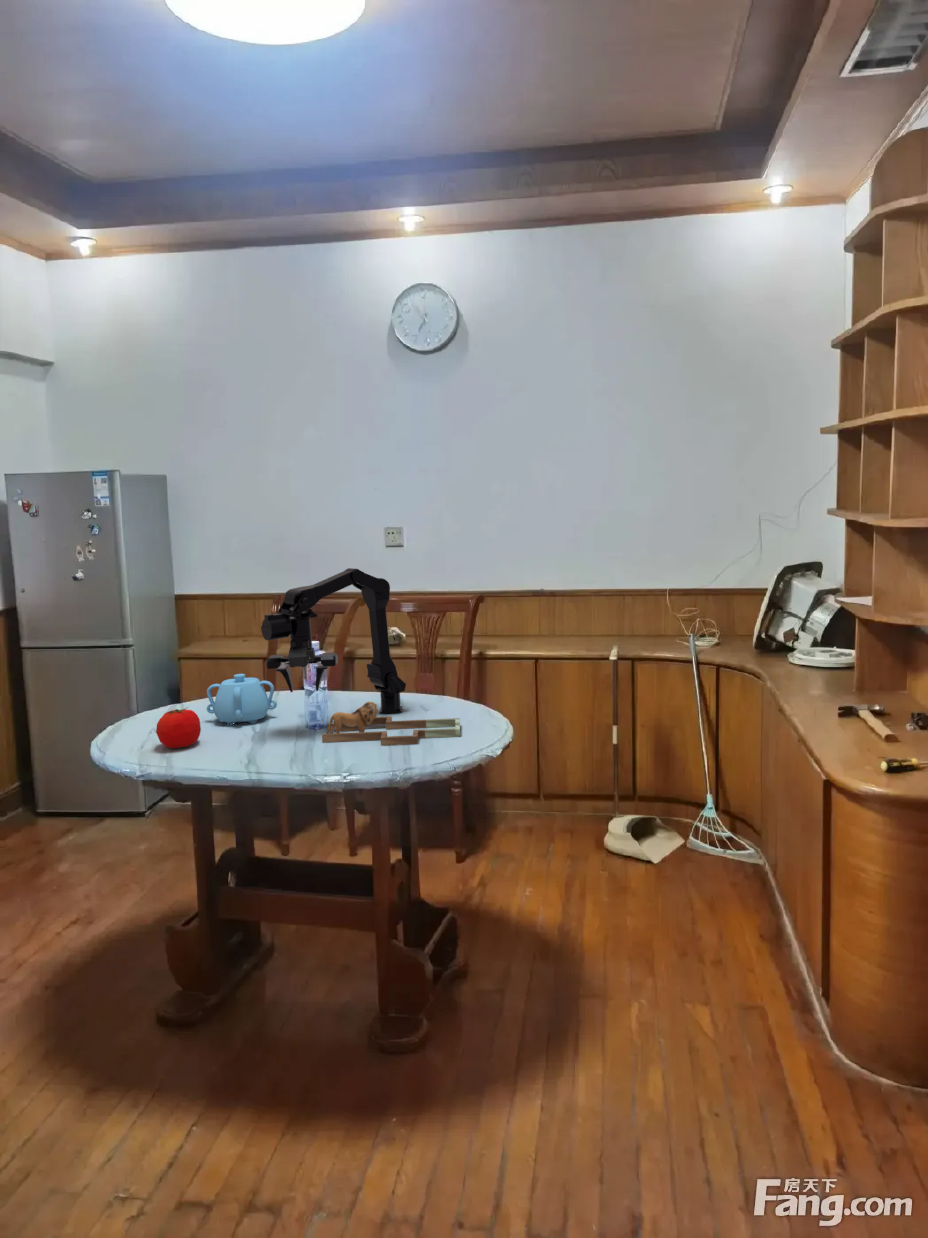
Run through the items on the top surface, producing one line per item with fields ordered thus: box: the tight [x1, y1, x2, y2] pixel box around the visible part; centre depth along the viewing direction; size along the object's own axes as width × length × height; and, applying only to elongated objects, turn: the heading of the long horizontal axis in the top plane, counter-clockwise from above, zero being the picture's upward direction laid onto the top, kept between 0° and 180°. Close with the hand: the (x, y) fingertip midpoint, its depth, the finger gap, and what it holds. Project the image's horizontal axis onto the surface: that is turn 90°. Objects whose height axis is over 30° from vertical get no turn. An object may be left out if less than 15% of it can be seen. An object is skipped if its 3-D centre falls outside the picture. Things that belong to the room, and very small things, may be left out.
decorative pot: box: [206, 673, 278, 725], centre depth 271 cm, size 16×16×14 cm
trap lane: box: [321, 716, 461, 747], centre depth 250 cm, size 22×36×2 cm, turn 91°
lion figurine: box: [325, 701, 378, 734], centre depth 249 cm, size 15×5×9 cm, turn 101°
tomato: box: [155, 706, 202, 749], centre depth 246 cm, size 11×13×10 cm
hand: (304, 691), depth 255 cm, fingers open, 7 cm apart
